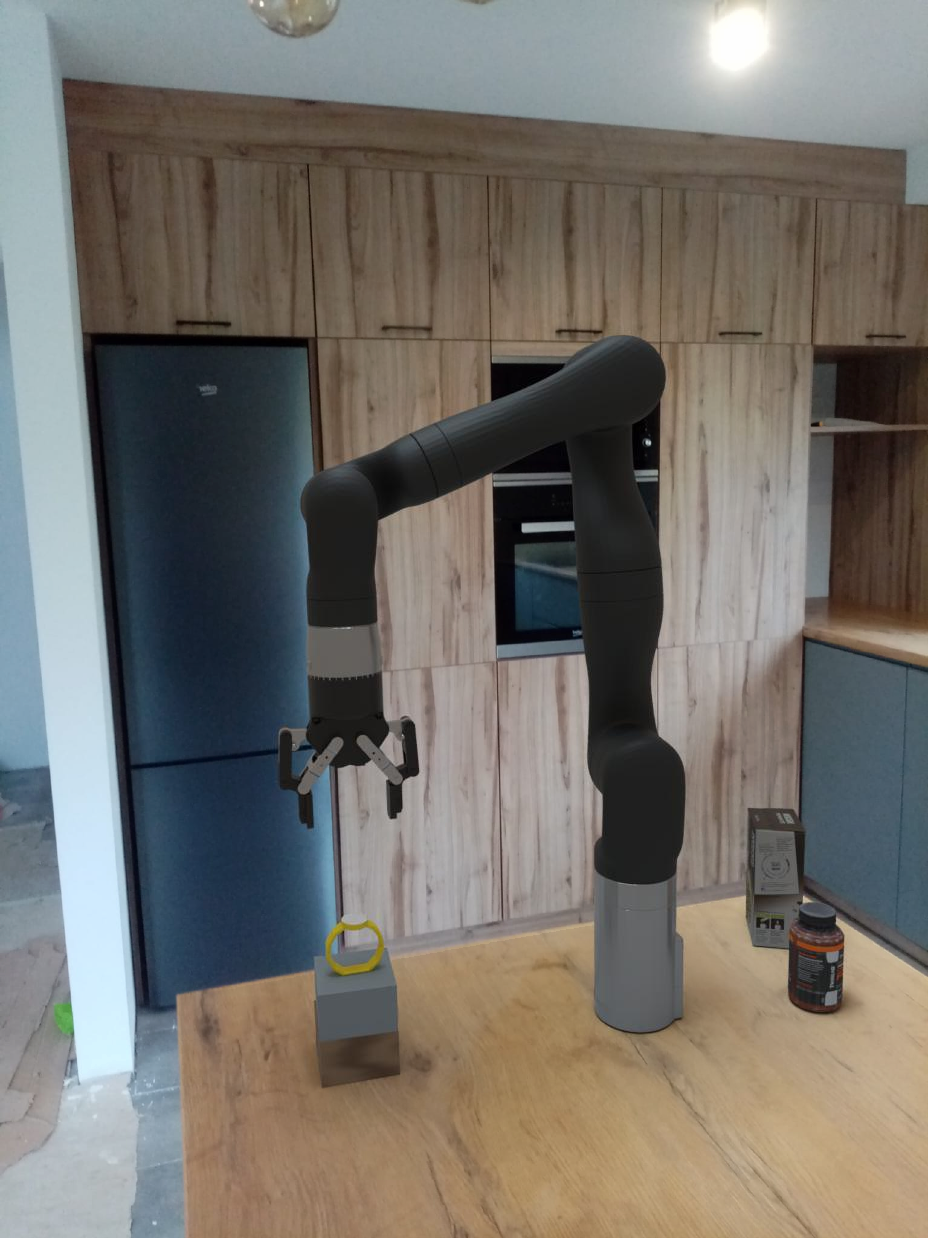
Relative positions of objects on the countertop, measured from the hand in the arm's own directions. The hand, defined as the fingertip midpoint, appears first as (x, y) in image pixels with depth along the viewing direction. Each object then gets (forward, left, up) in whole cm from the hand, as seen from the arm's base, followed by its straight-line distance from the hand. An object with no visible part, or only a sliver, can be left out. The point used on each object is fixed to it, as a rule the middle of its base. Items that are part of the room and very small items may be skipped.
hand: (351, 821), depth 92 cm
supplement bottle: (-53, +4, -26) cm, 59 cm away
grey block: (0, 0, -21) cm, 21 cm away
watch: (0, 0, -16) cm, 16 cm away
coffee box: (-58, -12, -26) cm, 65 cm away
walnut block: (0, 0, -26) cm, 26 cm away
